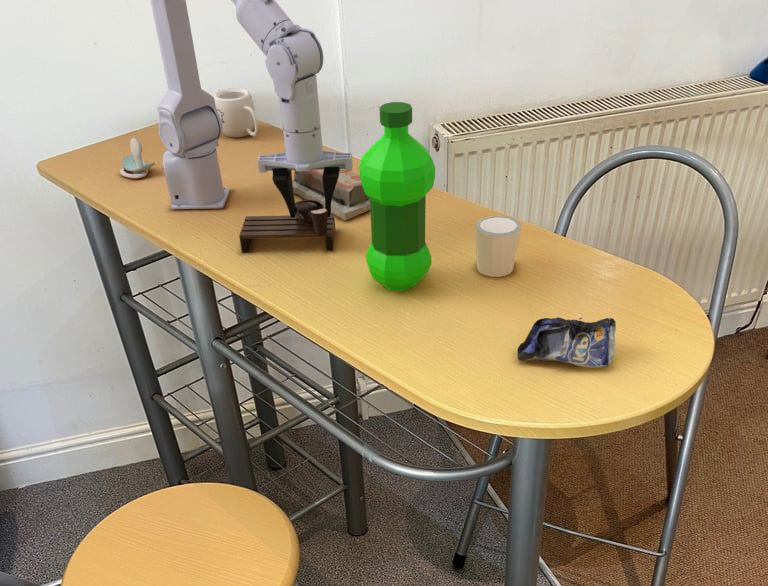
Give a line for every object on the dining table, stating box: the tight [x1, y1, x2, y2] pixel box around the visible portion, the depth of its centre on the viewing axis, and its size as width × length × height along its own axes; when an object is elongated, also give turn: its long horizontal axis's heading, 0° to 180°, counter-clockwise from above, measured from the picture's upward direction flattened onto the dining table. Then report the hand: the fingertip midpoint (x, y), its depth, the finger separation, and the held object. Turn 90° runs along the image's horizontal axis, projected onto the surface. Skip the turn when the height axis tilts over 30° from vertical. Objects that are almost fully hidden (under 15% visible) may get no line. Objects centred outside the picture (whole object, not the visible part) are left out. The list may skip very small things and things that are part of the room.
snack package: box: [516, 317, 617, 368], centre depth 101 cm, size 12×6×12 cm
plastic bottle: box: [358, 101, 436, 292], centre depth 108 cm, size 10×10×25 cm
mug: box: [212, 87, 260, 139], centre depth 159 cm, size 12×8×8 cm
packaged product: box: [292, 169, 370, 221], centre depth 137 cm, size 18×5×10 cm
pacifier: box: [119, 137, 156, 179], centre depth 148 cm, size 7×6×6 cm
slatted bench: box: [238, 214, 337, 254], centre depth 126 cm, size 15×7×3 cm, turn 89°
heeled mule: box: [295, 199, 328, 235], centre depth 124 cm, size 4×11×4 cm, turn 24°
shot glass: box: [475, 215, 522, 278], centre depth 117 cm, size 7×7×7 cm
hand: (310, 214), depth 124 cm, fingers closed on heeled mule, 5 cm apart
